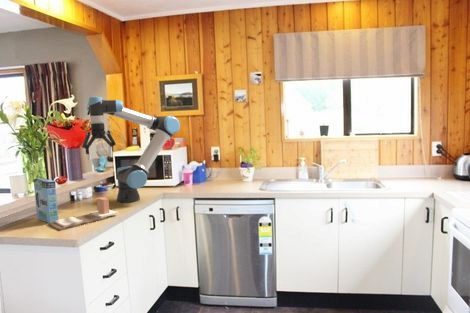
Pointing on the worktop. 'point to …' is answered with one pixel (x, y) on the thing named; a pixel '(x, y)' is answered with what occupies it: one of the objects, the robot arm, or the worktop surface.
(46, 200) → the blue cereal box
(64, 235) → the worktop surface
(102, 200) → the pink block on base
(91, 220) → the board
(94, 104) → the robot arm
